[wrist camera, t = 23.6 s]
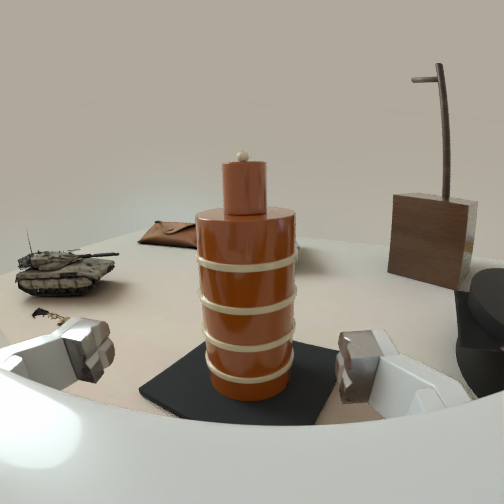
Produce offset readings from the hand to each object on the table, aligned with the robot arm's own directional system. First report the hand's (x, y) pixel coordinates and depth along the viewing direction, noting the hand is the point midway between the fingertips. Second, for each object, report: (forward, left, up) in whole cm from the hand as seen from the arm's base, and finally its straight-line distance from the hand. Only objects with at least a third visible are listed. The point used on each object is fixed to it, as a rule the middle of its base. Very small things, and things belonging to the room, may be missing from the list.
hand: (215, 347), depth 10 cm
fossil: (+23, +19, -10) cm, 31 cm away
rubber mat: (+9, -4, -9) cm, 14 cm away
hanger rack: (+21, -39, -9) cm, 45 cm away
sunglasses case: (+57, -2, -10) cm, 58 cm away
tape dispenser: (-1, -26, -10) cm, 28 cm away
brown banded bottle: (+9, -4, -9) cm, 13 cm away
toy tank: (+34, +16, -9) cm, 39 cm away
